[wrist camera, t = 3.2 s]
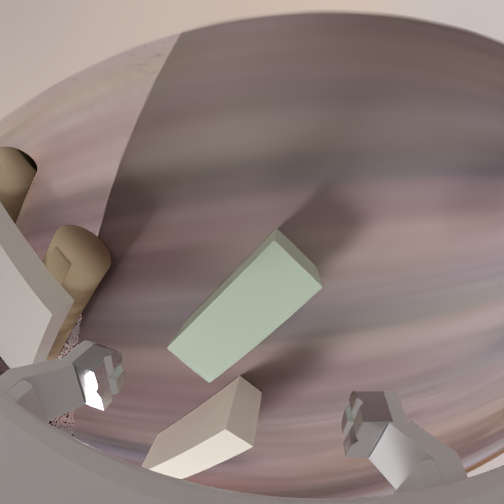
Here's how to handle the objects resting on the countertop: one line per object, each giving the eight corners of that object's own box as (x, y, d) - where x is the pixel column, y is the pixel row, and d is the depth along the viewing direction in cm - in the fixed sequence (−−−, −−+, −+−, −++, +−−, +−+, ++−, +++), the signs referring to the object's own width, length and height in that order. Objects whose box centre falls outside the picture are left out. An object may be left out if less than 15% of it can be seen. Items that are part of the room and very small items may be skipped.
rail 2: (64, 356, 20) (37, 380, 16) (35, 323, 20) (6, 343, 16) (122, 262, 17) (84, 282, 13) (83, 220, 17) (41, 231, 13)
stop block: (176, 446, 21) (158, 487, 16) (158, 434, 21) (137, 474, 16) (261, 392, 18) (253, 446, 13) (239, 375, 18) (225, 429, 13)
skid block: (222, 350, 18) (209, 383, 15) (187, 319, 18) (166, 347, 14) (315, 265, 16) (322, 287, 13) (277, 227, 16) (273, 240, 12)
